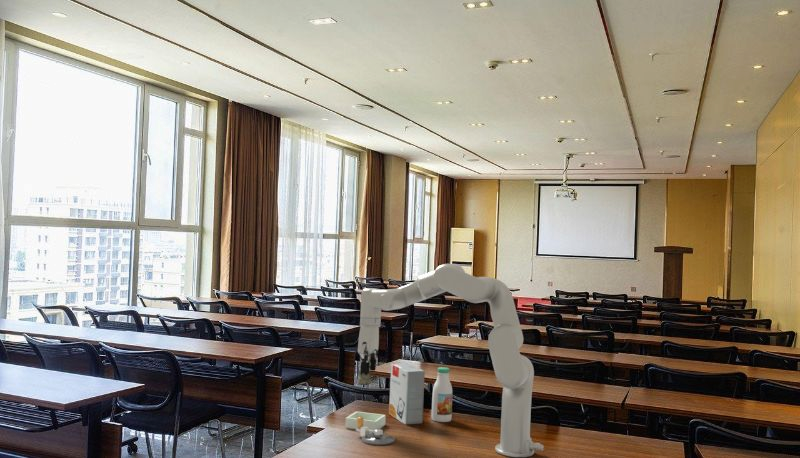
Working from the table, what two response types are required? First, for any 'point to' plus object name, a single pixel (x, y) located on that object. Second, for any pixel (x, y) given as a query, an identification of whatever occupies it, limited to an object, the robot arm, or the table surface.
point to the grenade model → (363, 377)
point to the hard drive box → (406, 393)
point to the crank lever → (376, 433)
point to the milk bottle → (442, 397)
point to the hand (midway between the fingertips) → (368, 371)
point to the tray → (366, 420)
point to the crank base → (373, 440)
